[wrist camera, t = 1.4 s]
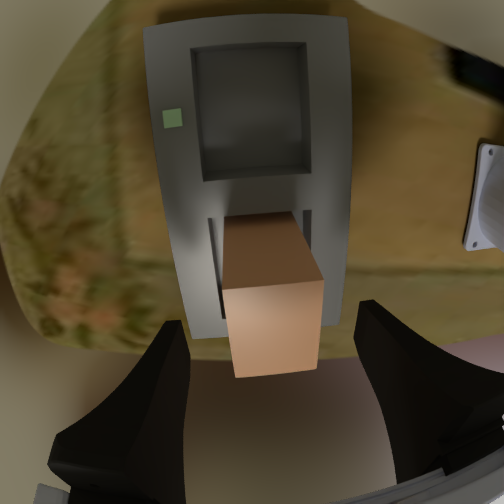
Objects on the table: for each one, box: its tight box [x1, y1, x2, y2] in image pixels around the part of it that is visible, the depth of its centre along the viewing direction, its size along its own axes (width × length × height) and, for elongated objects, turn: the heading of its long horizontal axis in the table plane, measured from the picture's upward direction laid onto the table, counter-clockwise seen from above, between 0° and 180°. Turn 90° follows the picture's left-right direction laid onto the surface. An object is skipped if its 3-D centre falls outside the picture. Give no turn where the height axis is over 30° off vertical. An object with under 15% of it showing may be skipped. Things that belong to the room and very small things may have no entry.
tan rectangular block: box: [222, 211, 324, 378], centre depth 15 cm, size 4×5×7 cm
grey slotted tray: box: [143, 14, 352, 339], centre depth 16 cm, size 9×17×3 cm, turn 4°
